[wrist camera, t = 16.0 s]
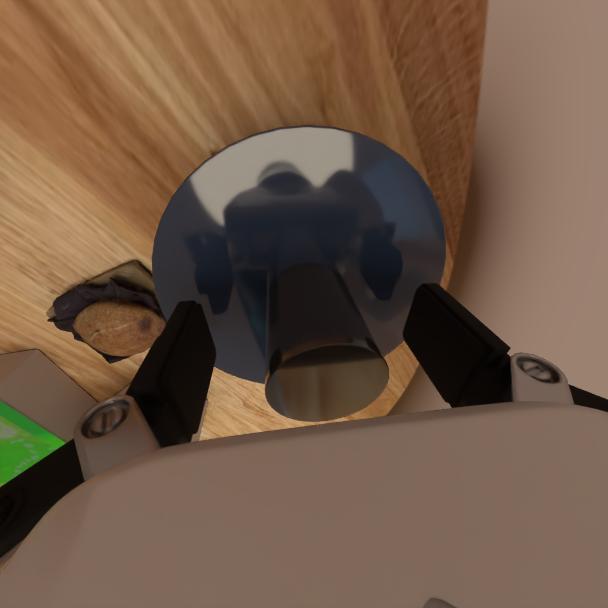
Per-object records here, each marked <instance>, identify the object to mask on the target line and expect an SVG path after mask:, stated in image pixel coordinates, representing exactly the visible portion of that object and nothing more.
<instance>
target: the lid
mask: <svg viewBox="0 0 608 608" xmlns="http://www.w3.org/2000/svg"><path fill="white" fill-rule="evenodd" d="M445 260H446V236H445V228H444V222H443V219H442V216H441V212H440V209H439V206H438V204H437V202H436V200H435V197H434V195H433V193H432V191H431V189H430V188H429V186H428V185H427V184H426V182H425V181H424V179H423V178H422V177H421V175H420V174H419V172H418V171H417V170H416V169H415V168H414V167H413V166H411V165H410V164H409V163H408V162H407V161H406V160H405V159H404V158H403V157H402V156H401V155H399V154H398V153H396V152H395V151H393V150H392V149H390V148H389V147H387V146H386V145H384V144H383V143H381V142H378V141H376V140H374V139H372V138H369V137H367V136H365V135H363V134H360V133H357V132H353V131H349V130H345V129H341V128H337V127H328V126H315V125H301V126H290V127H280V128H276V129H272V130H268V131H264V132H260V133H256V134H253V135H250V136H248V137H246V138H244V139H241V140H239V141H237V142H235V143H232V144H230V145H228V146H226V147H225V148H223V149H222V150H220V151H219V152H217V153H216V154H214V155H213V156H211V157H210V158H208V159H207V160H205V161H204V162H203V163H202V164H201V165H200V166H199V167H198V168H197V169H195V170H194V171H193V172H192V173H191V174H190V175H189V176H188V177H187V178H186V179H185V180H184V182H183V183H182V184H181V186H180V187H179V188H178V190H177V191H176V192H175V194H174V195H173V196H172V198H171V200H170V201H169V203H168V205H167V207H166V209H165V211H164V213H163V215H162V217H161V219H160V223H159V226H158V229H157V232H156V235H155V239H154V246H153V253H152V277H153V282H154V287H155V292H156V296H157V299H158V302H159V304H160V307H161V310H162V312H163V314H164V316H165V318H166V319H167V321H168V320H169V318H170V317H171V315H172V313H173V311H174V309H175V307H176V306H177V304H178V302H180V301H191V300H194V301H196V303H197V304H198V303H200V304H201V305H202V308H203V311H204V314H205V317H206V320H207V323H208V326H209V329H210V333H211V336H212V339H213V342H214V345H215V348H216V360H215V364H214V367H216V368H218V369H220V370H222V371H224V372H226V373H228V374H231V375H233V376H236V377H239V378H242V379H245V380H249V381H252V382H257V383H263V384H265V396H266V399H267V401H268V403H269V405H270V406H271V407H272V408H273V409H274V410H275V411H276V412H278V413H279V414H281V415H283V416H285V417H287V418H290V419H294V420H299V421H307V422H320V421H328V420H334V419H338V418H342V417H345V416H348V415H351V414H353V413H356V412H358V411H360V410H362V409H363V408H365V407H367V406H368V405H370V404H371V403H372V402H373V401H375V400H376V399H377V398H378V397H379V396H380V395H381V393H382V392H383V391H384V389H385V387H386V385H387V383H388V379H389V368H388V365H387V363H386V361H385V359H384V356H386V355H387V354H388V353H390V352H391V351H392V350H394V349H395V348H396V347H397V346H398V345H400V344H401V343H402V342H403V341H404V339H403V329H404V326H405V323H406V320H407V317H408V314H409V311H410V307H411V304H412V301H413V298H414V295H415V292H416V289H417V288H418V287H420V285H421V284H426V283H437V284H439V285H440V283H441V280H442V277H443V272H444V266H445Z"/></svg>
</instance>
